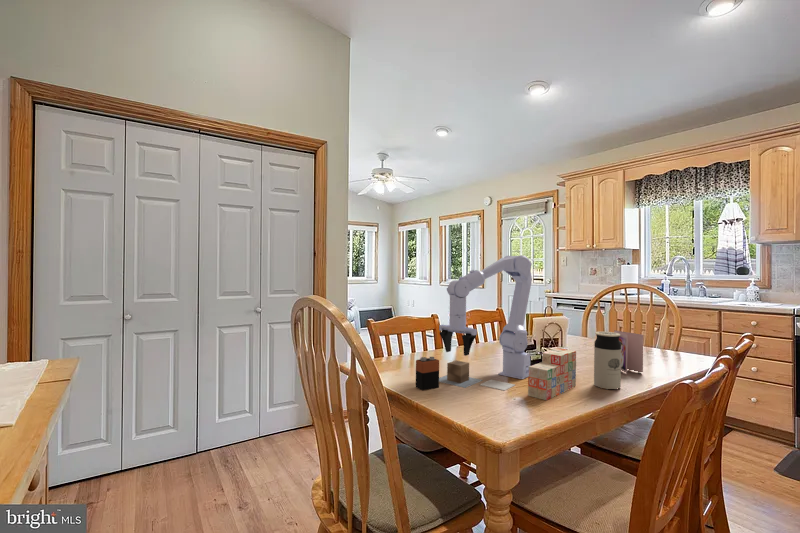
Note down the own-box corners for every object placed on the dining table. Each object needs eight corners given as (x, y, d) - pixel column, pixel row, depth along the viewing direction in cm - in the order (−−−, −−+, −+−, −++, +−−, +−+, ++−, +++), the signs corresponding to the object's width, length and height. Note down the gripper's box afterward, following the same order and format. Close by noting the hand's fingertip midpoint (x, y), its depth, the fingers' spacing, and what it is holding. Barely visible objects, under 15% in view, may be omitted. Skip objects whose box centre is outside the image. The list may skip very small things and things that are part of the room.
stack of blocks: (546, 401, 120) (547, 360, 120) (527, 396, 125) (528, 356, 125) (576, 386, 135) (576, 350, 135) (557, 382, 140) (558, 347, 140)
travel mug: (590, 382, 140) (591, 330, 140) (615, 383, 139) (615, 331, 139) (598, 389, 132) (599, 334, 132) (624, 391, 131) (625, 335, 131)
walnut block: (469, 379, 141) (469, 362, 141) (460, 383, 137) (460, 365, 137) (455, 377, 145) (455, 360, 145) (447, 380, 140) (447, 363, 140)
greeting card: (611, 367, 161) (612, 330, 161) (631, 368, 160) (631, 330, 160) (624, 375, 150) (625, 335, 150) (645, 376, 149) (646, 335, 149)
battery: (415, 387, 132) (415, 357, 132) (431, 384, 136) (432, 354, 136) (422, 391, 128) (422, 359, 128) (439, 387, 132) (439, 357, 132)
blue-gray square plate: (483, 380, 141) (483, 380, 141) (465, 388, 132) (465, 387, 132) (451, 373, 149) (451, 373, 149) (432, 380, 140) (432, 380, 140)
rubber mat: (515, 385, 135) (515, 384, 135) (504, 391, 129) (504, 390, 129) (491, 380, 141) (491, 379, 141) (479, 385, 135) (479, 384, 135)
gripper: (434, 313, 143) (433, 351, 143) (469, 317, 133) (468, 358, 133) (446, 312, 148) (445, 348, 148) (480, 315, 138) (479, 355, 138)
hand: (457, 353), depth 141 cm, fingers open, 7 cm apart
